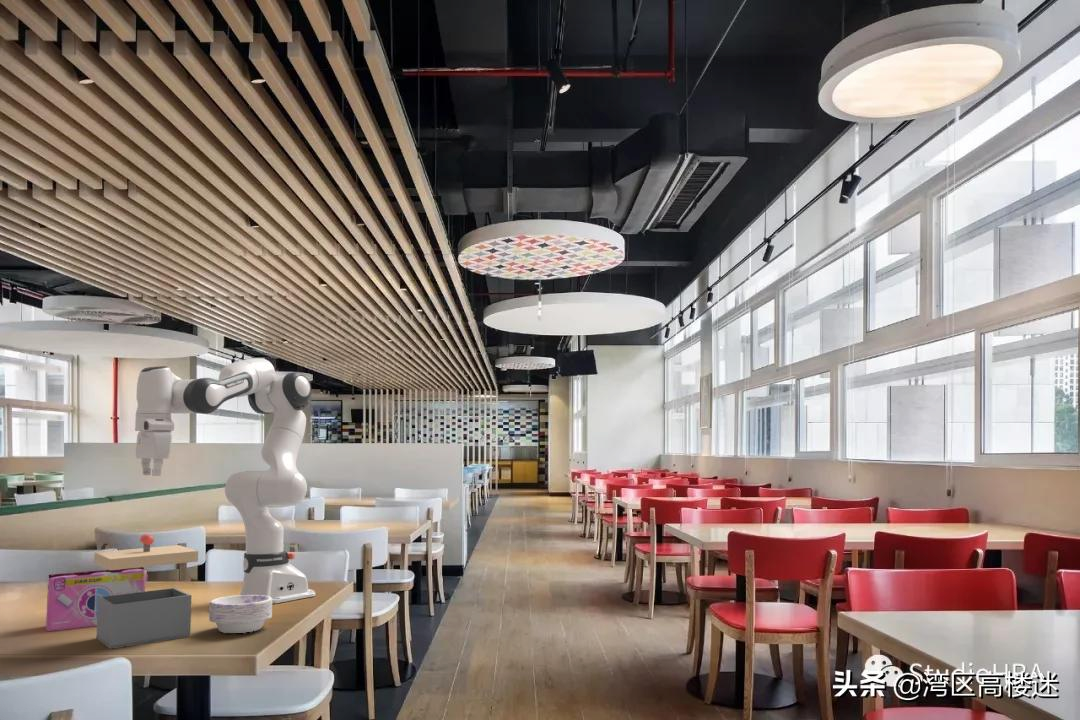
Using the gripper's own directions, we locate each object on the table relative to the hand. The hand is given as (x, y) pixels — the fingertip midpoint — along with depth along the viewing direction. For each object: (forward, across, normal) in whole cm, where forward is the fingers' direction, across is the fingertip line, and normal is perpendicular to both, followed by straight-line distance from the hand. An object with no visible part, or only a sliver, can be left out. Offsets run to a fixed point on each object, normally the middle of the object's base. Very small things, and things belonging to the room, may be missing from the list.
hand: (151, 475), depth 221 cm
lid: (+21, +17, -5) cm, 27 cm away
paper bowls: (+39, +26, +16) cm, 50 cm away
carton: (+39, +17, -5) cm, 43 cm away
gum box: (+39, -9, -10) cm, 42 cm away
